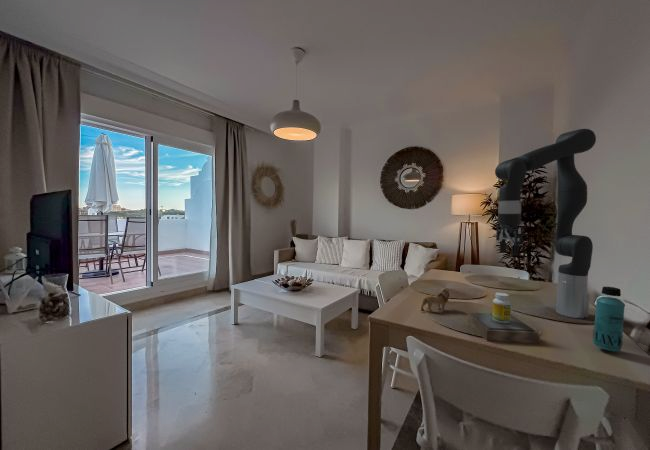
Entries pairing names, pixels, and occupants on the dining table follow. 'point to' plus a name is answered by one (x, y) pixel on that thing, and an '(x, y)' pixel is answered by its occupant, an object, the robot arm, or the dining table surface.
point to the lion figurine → (436, 300)
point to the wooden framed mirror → (502, 329)
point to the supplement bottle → (501, 308)
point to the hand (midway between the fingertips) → (508, 253)
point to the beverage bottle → (609, 320)
